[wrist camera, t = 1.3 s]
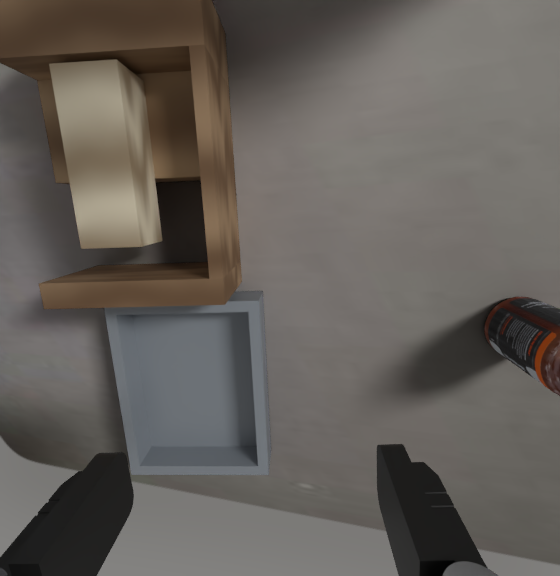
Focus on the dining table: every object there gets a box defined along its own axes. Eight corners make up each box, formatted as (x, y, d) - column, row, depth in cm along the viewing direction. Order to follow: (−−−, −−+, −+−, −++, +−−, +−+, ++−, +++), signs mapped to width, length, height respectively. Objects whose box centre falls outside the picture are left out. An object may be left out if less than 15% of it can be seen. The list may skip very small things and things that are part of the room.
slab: (85, 84, 26) (48, 63, 22) (143, 81, 26) (116, 59, 22) (110, 242, 29) (81, 248, 25) (162, 241, 29) (141, 246, 25)
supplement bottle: (484, 358, 34) (573, 431, 23) (478, 301, 33) (570, 350, 22) (547, 347, 33) (670, 416, 22) (544, 288, 32) (672, 332, 21)
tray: (122, 294, 34) (103, 304, 31) (262, 290, 33) (259, 300, 30) (146, 450, 38) (131, 474, 35) (271, 450, 38) (268, 475, 34)
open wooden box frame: (61, 44, 29) (-23, -14, 21) (225, 33, 28) (198, -32, 21) (101, 285, 34) (43, 309, 26) (241, 281, 33) (225, 304, 26)
